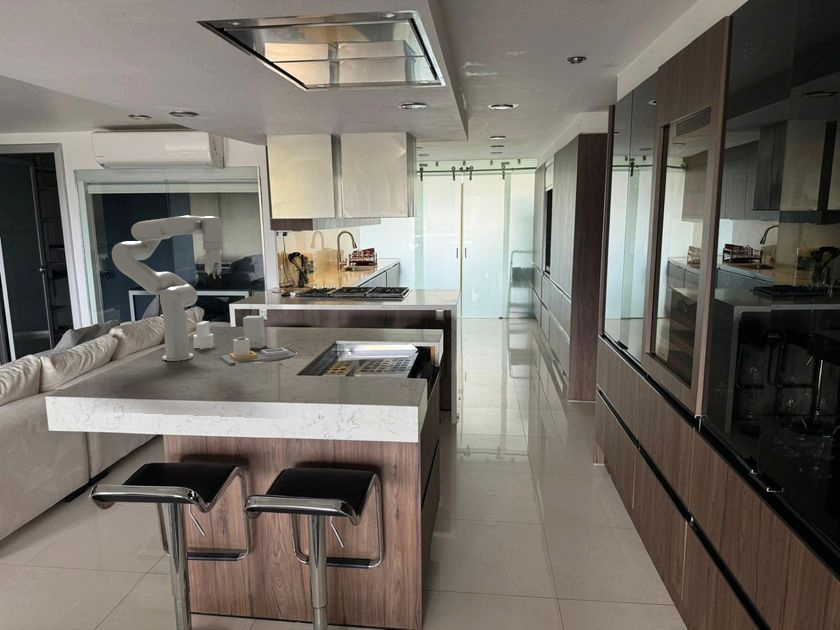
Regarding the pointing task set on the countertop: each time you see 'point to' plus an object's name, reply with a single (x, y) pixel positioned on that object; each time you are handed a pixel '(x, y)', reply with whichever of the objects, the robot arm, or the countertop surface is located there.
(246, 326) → the skincare box
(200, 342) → the base with upright slab
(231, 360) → the socket panel
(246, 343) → the plug
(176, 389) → the countertop surface
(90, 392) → the countertop surface
